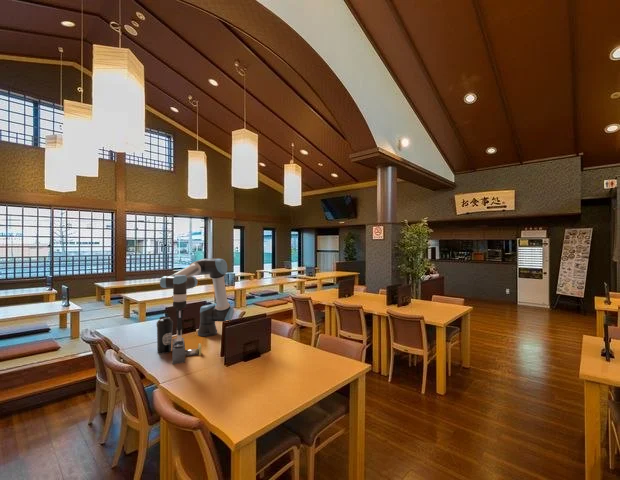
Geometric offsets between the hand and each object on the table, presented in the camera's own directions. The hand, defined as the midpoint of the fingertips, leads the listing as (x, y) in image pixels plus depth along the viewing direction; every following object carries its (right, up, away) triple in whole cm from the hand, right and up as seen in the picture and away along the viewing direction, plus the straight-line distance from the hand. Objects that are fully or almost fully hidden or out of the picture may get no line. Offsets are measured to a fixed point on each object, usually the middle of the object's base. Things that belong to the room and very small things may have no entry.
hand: (179, 340), depth 184 cm
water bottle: (-20, -15, +23) cm, 34 cm away
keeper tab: (-3, -5, +7) cm, 9 cm away
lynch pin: (+1, -15, +17) cm, 23 cm away
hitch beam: (-6, -15, +13) cm, 20 cm away
